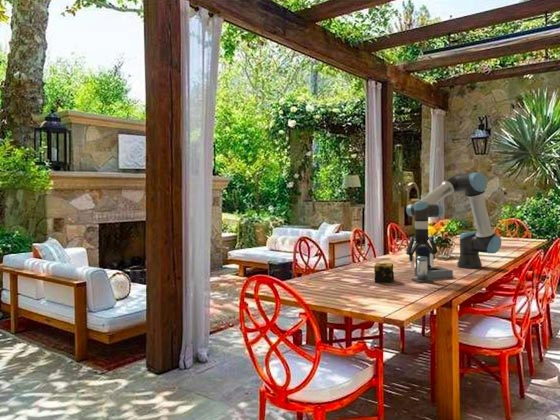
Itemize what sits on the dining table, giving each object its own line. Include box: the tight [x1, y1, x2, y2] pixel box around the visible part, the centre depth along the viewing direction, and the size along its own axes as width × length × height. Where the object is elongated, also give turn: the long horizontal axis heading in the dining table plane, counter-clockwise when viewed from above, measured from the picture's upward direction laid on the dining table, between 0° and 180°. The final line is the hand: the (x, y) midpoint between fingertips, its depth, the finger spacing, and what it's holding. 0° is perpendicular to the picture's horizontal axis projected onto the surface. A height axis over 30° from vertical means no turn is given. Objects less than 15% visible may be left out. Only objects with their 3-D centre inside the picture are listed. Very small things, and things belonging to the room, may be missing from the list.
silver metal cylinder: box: [416, 256, 428, 280], centre depth 276 cm, size 6×6×13 cm
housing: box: [414, 265, 454, 280], centre depth 289 cm, size 16×16×4 cm
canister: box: [414, 244, 432, 268], centre depth 304 cm, size 10×10×18 cm
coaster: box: [411, 277, 435, 284], centre depth 276 cm, size 9×9×1 cm
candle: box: [373, 262, 395, 284], centre depth 279 cm, size 10×10×10 cm
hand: (422, 266), depth 276 cm, fingers open, 11 cm apart
